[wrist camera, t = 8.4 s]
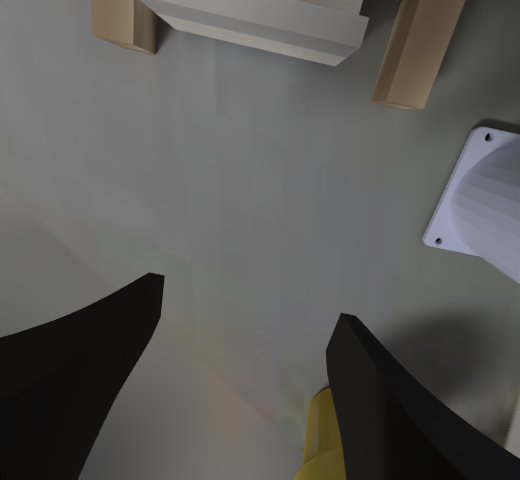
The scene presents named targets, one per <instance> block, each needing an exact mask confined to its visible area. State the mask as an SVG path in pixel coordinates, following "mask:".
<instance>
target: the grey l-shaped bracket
mask: <svg viewBox="0 0 520 480" xmlns="http://www.w3.org/2000/svg"><path fill="white" fill-rule="evenodd" d="M140 1H141V2H143V3H144V4H145V5H146V6H148V7H149V8H150V9H151V10H152V11H154V12H155V13H156V14H157V15H159V16H160V17H161V18H162V19H163V20H165V21H166V22H167V23H168V24H170V25H171V26H172V27H173V28H174V29H176V30H181V31H185V32H189V33H194V34H198V35H202V36H206V37H211V38H215V39H219V40H224V41H228V42H232V43H236V44H241V45H245V46H249V47H254V48H258V49H262V50H267V51H271V52H275V53H279V54H284V55H288V56H292V57H297V58H301V59H305V60H309V61H314V62H318V63H322V64H327V65H331V66H336V65H338V64H339V63H340V62H342V61H343V60H345V59H346V58H347V57H349V56H350V55H352V54H353V53H354V52H356V51H357V50H359V49H360V48H361V45H362V41H363V38H364V35H365V31H366V28H367V24H368V21H369V17H365V16H360V15H359V13H360V9H361V6H362V2H363V0H140Z"/></svg>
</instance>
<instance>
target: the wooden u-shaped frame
mask: <svg viewBox="0 0 520 480" xmlns="http://www.w3.org/2000/svg"><path fill="white" fill-rule="evenodd" d="M465 1H466V0H401V2H400V6H399V9H398V12H397V15H396V18H395V21H394V25H393V28H392V31H391V34H390V37H389V41H388V44H387V47H386V50H385V53H384V56H383V60H382V63H381V66H380V69H379V72H378V75H377V79H376V82H375V85H374V88H373V91H372V94H371V98H370V101H369V102H372V103H376V104H381V105H385V106H390V107H394V108H399V109H424V107H425V104H426V102H427V99H428V96H429V94H430V91H431V89H432V86H433V83H434V81H435V78H436V76H437V73H438V70H439V68H440V65H441V63H442V60H443V58H444V55H445V52H446V50H447V47H448V45H449V42H450V39H451V37H452V34H453V32H454V29H455V26H456V24H457V21H458V19H459V16H460V13H461V11H462V8H463V6H464V3H465ZM92 29H93V36H95V37H98V38H100V39H103V40H105V41H107V42H110V43H112V44H115V45H117V46H120V47H123V48H127V49H132V50H136V51H141V52H145V53H150V54H154V55H155V50H156V29H157V14H156V13H155V12H154V11H152V10H151V9H150V8H149V7H148V6H146V5H145V4H144V3H143V2H141V1H140V0H92Z"/></svg>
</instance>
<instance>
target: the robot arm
mask: <svg viewBox="0 0 520 480" xmlns="http://www.w3.org/2000/svg"><path fill="white" fill-rule="evenodd" d="M488 133H489V134H490V138H489V139H488V140H487V141H485V136H486V135H487V134H488ZM437 238H440V240H439V241H438V242H435V240H436V239H437ZM423 242H424V243H425V244H426V245H428V246H432V247H436V248H441V249H446V250H451V251H456V252H461V253H466V254H471V255H476V256H481V257H482V258H484V259H485V260H486V261H488V262H489V263H491V264H492V265H493V266H495V267H496V268H498V269H499V270H501V271H502V272H503V273H505V274H506V275H508V276H509V277H510V278H512V279H513V280H515V281H516V282H517V283H519V284H520V134H516V133H511V132H507V131H502V130H498V129H493V128H489V127H476V128H474V129H473V130H472V132H471V133H470V135H469V137H468V139H467V142H466V144H465V146H464V148H463V150H462V153H461V155H460V157H459V159H458V161H457V163H456V166H455V168H454V170H453V172H452V174H451V177H450V179H449V181H448V183H447V185H446V187H445V190H444V192H443V194H442V196H441V198H440V201H439V203H438V205H437V207H436V209H435V211H434V214H433V216H432V218H431V220H430V222H429V225H428V227H427V229H426V231H425V233H424V235H423ZM164 277H165V276H164V275H159V274H155V273H150V272H149V273H147V274H146V275H144V276H142V277H140V278H139V279H137V280H135V281H133V282H132V283H130V284H128V285H127V286H125V287H123V288H121V289H120V290H118V291H116V292H114V293H112V294H111V295H109V296H107V297H105V298H103V299H101V300H99V301H97V302H95V303H93V304H91V305H89V306H87V307H85V308H82V309H80V310H78V311H76V312H73V313H71V314H69V315H66V316H64V317H61V318H59V319H56V320H54V321H51V322H48V323H45V324H42V325H39V326H36V327H33V328H30V329H27V330H24V331H21V332H18V333H15V334H11V335H8V336H4V337H1V338H0V480H78V478H79V475H80V473H81V471H82V469H83V466H84V464H85V462H86V459H87V457H88V455H89V453H90V451H91V449H92V447H93V444H94V442H95V440H96V438H97V436H98V434H99V431H100V429H101V427H102V425H103V423H104V421H105V419H106V417H107V415H108V413H109V410H110V409H111V406H112V404H113V402H114V400H115V398H116V397H117V395H118V393H119V391H120V389H121V388H122V386H123V385H124V383H125V381H126V380H127V378H128V376H129V375H130V373H131V371H132V370H133V368H134V366H135V365H136V363H137V361H138V360H139V358H140V356H141V355H142V353H143V351H144V350H145V348H146V346H147V344H148V343H149V341H150V339H151V337H152V335H153V333H154V330H155V329H156V326H157V324H158V322H159V319H160V317H161V307H162V297H163V287H164ZM326 362H327V373H328V379H329V384H330V389H331V394H332V398H333V403H334V407H335V412H336V417H337V421H338V426H339V430H340V436H341V442H342V448H343V457H344V465H345V474H346V480H520V458H518V457H516V456H515V455H513V454H512V453H510V452H508V451H507V450H506V449H504V448H503V447H501V446H500V445H498V444H497V443H495V442H494V441H492V440H491V439H490V438H488V437H487V436H485V435H484V434H482V433H481V432H480V431H478V430H477V429H475V428H474V427H473V426H471V425H470V424H469V423H467V422H466V421H465V420H463V419H462V418H461V417H460V416H458V415H457V414H456V413H454V412H453V411H452V410H450V409H449V408H448V407H447V406H446V405H444V404H443V403H442V402H441V401H439V400H438V399H437V398H436V397H435V396H434V395H433V394H431V393H430V392H429V391H428V390H427V389H426V388H425V387H423V386H422V385H421V384H420V383H419V382H418V381H417V380H416V379H415V378H414V377H413V376H412V375H411V374H410V373H409V372H408V371H407V370H406V369H405V368H404V367H403V366H402V365H401V364H400V363H399V362H398V361H397V360H396V359H395V358H394V357H393V356H392V355H391V354H390V353H389V352H388V351H387V350H386V349H385V347H384V346H383V345H382V344H381V343H380V342H379V341H378V340H377V339H376V337H375V336H374V335H373V334H372V333H371V332H370V331H369V329H368V328H367V327H366V326H365V325H364V324H363V323H362V322H361V321H360V320H359V319H358V318H357V317H356V316H354V315H349V314H344V313H341V314H340V317H339V319H338V322H337V324H336V327H335V329H334V332H333V334H332V337H331V339H330V341H329V344H328V346H327V349H326Z"/></svg>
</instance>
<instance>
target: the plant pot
mask: <svg viewBox="0 0 520 480" xmlns="http://www.w3.org/2000/svg"><path fill="white" fill-rule="evenodd" d="M295 480H346V474H345V465H344V457H343V448H342V442H341V436H340V430H339V426H338V421H337V417H336V412H335V407H334V403H333V398H332V394H331V389H330V387H329V388H327V389H325V390H323V391H321V392H320V393H318V394H317V395H316V396H315V397H314V398H313V400H312V401H311V403H310V406H309V414H308V423H307V432H306V440H305V448H304V456H303V465H302V467H301V468H300V469H299V471H298V473H297V474H296V477H295Z"/></svg>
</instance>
